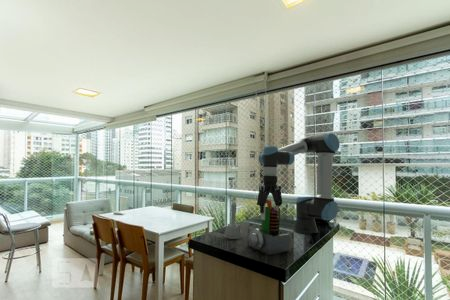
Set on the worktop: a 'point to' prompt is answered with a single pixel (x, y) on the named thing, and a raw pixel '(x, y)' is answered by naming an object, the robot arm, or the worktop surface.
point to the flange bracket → (268, 241)
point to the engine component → (233, 225)
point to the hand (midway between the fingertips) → (269, 218)
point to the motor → (271, 220)
